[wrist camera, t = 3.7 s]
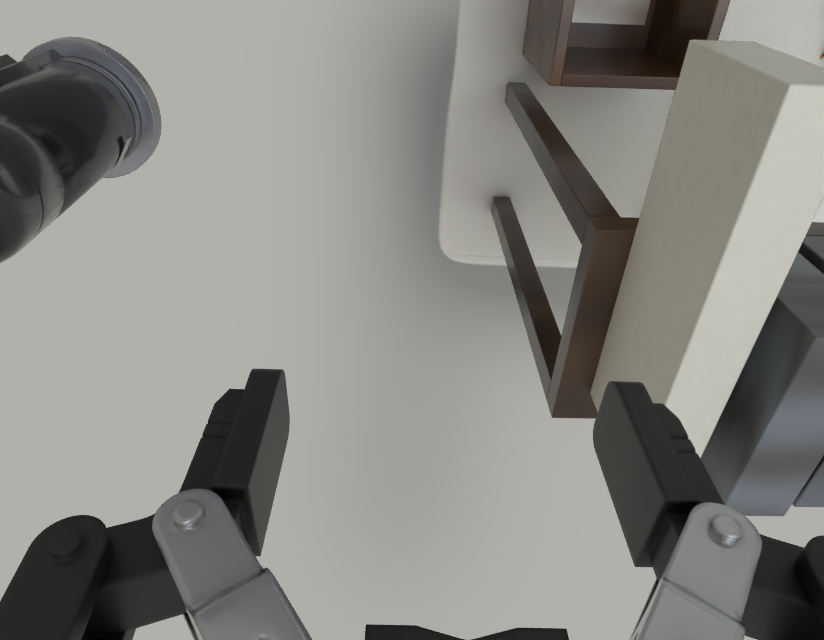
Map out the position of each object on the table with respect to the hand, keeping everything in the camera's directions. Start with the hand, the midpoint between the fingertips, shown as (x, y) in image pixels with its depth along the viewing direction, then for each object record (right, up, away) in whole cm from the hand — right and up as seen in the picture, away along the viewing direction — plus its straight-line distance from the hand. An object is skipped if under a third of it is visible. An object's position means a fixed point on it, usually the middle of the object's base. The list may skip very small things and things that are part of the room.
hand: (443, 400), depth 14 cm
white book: (+11, +5, +13) cm, 17 cm away
